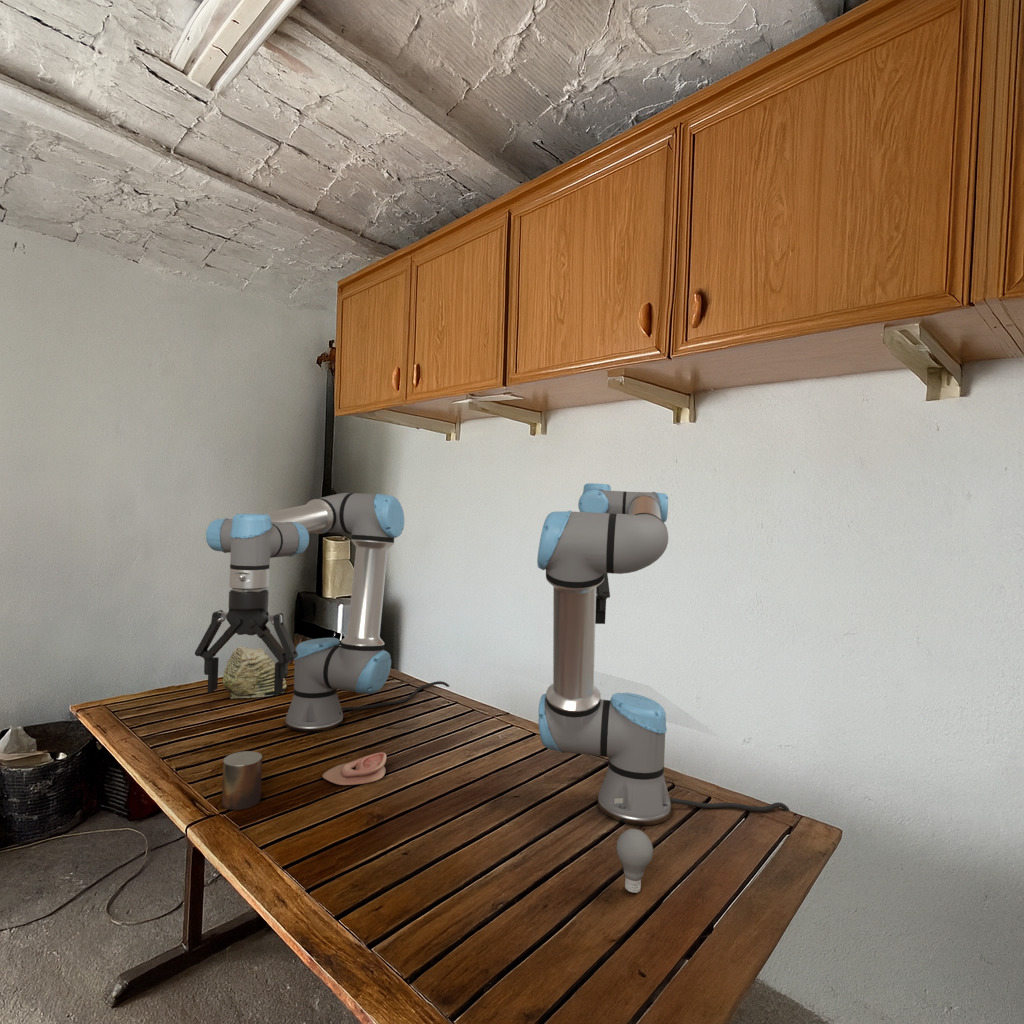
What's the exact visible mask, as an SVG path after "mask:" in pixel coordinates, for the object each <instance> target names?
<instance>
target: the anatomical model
mask: <svg viewBox="0 0 1024 1024" xmlns="http://www.w3.org/2000/svg"><path fill="white" fill-rule="evenodd" d="M386 762H387V754H386V752H383V751H382V752H376V753H372V754H369V755H366V756H363V757H360V758H357V759H354V760H352V761H350V762H346V763H342V764H338V765H335V766H333V767H332V768H330V769H328V770H326V771H325V772H323V773H322V776H321V777H322V778H323V779H324V780H326V781H328V782H330V783H333V784H335V785H340V786H353V785H362V784H368V783H372V782H375V781H379V780H380V779H382V778H383V777H384V776H385V774H386V767H385V765H386Z"/></svg>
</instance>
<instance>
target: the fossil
mask: <svg viewBox="0 0 1024 1024" xmlns="http://www.w3.org/2000/svg"><path fill="white" fill-rule="evenodd" d="M275 663H276V662H274V660H273V659H272V658H271V657H270V656H269V655H268V654H267V653H266V652H265V650H264V649H263V648H260V647H258V648H251V647H247V646H246V647H245V646H238V647H237V648H236V649H235V650H233V651H232V653H231V656H230V657H229V659H228V660H227V663H226V666H225V668H224V671H223V675H222V676H223V677H222V685H223V687H224V688H225V690H226V691H228V693H229V698H230V699H250V698H264V697H271V696H274V680H275ZM287 687H288V686H287V680H286V677H285V678H283V692H282V693H281V694H284V693H285V691H286V689H287Z"/></svg>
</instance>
